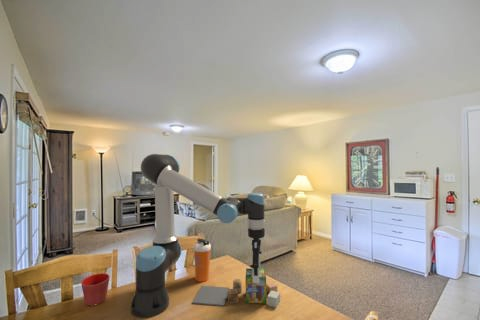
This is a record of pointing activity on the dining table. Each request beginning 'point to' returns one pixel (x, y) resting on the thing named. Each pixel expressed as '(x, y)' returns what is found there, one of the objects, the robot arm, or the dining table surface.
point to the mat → (211, 296)
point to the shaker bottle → (202, 260)
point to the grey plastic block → (274, 298)
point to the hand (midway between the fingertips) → (256, 274)
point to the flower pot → (95, 288)
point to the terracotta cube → (271, 287)
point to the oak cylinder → (237, 285)
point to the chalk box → (256, 287)
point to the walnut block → (232, 295)
